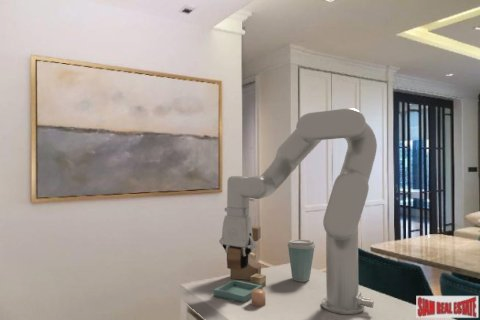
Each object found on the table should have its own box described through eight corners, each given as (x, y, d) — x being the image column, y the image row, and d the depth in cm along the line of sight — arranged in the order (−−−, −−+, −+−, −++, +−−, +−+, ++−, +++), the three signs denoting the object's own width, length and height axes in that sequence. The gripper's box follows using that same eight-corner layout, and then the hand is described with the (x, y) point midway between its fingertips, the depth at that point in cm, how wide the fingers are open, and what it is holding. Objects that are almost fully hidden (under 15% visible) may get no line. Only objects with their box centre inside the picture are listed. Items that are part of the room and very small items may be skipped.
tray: (262, 292, 120) (262, 285, 120) (244, 303, 110) (244, 296, 110) (233, 285, 126) (233, 279, 126) (213, 296, 116) (213, 289, 116)
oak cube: (265, 286, 126) (265, 275, 126) (260, 289, 123) (260, 278, 123) (256, 284, 128) (256, 273, 128) (250, 287, 125) (250, 276, 125)
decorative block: (261, 277, 136) (260, 226, 137) (257, 281, 131) (257, 228, 131) (234, 274, 140) (234, 224, 140) (229, 278, 134) (229, 227, 135)
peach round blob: (267, 303, 110) (267, 290, 110) (261, 308, 106) (261, 295, 106) (255, 300, 112) (255, 288, 112) (248, 305, 109) (248, 292, 109)
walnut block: (239, 270, 115) (239, 249, 115) (227, 268, 118) (227, 247, 118) (247, 267, 119) (247, 246, 119) (235, 264, 122) (235, 244, 122)
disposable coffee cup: (281, 278, 134) (281, 239, 135) (300, 273, 141) (300, 236, 141) (302, 285, 126) (301, 244, 126) (321, 279, 133) (321, 240, 133)
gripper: (211, 211, 120) (210, 264, 120) (253, 215, 111) (253, 272, 111) (223, 209, 126) (223, 259, 126) (265, 213, 117) (264, 267, 117)
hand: (237, 265), depth 118 cm, fingers closed on walnut block, 5 cm apart
